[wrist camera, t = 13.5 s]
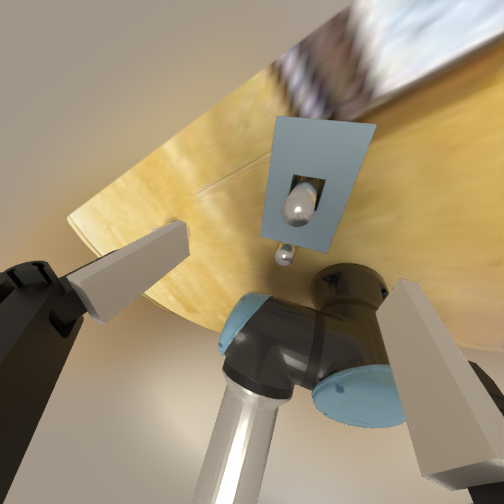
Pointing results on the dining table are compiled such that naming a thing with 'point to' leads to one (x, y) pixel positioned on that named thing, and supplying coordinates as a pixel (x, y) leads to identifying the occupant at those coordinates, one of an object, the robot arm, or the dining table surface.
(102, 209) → the dining table surface
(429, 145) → the dining table surface
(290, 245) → the short pin
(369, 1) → the dining table surface
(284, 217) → the tall pin
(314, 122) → the hole block
